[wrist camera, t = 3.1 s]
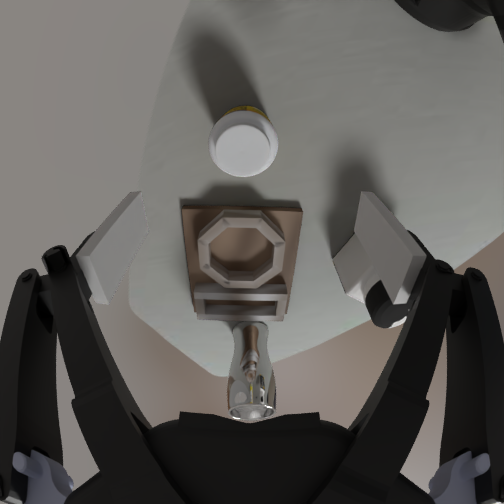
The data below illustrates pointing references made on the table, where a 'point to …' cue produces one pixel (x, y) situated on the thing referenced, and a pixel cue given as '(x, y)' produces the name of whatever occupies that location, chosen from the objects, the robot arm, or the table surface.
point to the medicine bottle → (368, 285)
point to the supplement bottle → (243, 142)
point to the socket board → (241, 260)
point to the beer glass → (251, 374)
